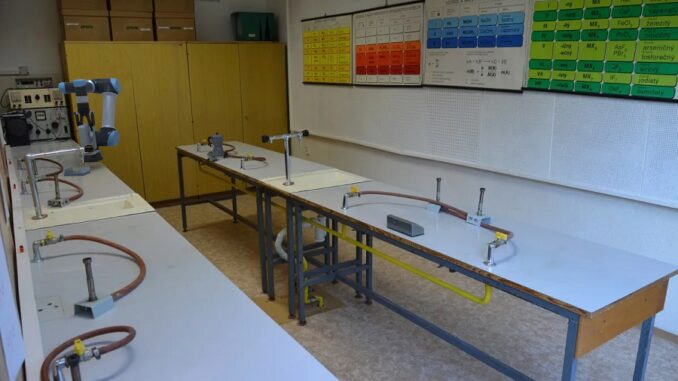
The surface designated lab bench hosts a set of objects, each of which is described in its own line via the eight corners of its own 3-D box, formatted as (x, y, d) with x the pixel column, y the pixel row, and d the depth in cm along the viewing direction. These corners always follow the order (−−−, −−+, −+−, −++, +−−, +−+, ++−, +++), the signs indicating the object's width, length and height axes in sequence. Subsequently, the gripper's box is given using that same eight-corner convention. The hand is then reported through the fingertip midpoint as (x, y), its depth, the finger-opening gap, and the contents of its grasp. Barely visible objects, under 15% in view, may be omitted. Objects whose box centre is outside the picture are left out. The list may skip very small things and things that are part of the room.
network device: (88, 150, 359) (84, 123, 354) (101, 150, 361) (97, 122, 356) (78, 156, 335) (74, 126, 330) (92, 155, 336) (88, 125, 332)
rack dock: (71, 172, 335) (70, 166, 334) (90, 172, 335) (89, 165, 334) (64, 176, 325) (63, 169, 324) (83, 175, 326) (82, 168, 324)
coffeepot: (222, 153, 398) (220, 131, 394) (229, 154, 392) (227, 131, 387) (205, 156, 387) (203, 133, 383) (212, 157, 381) (210, 134, 376)
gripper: (67, 103, 336) (72, 137, 342) (92, 102, 336) (97, 136, 342) (72, 102, 343) (77, 135, 349) (97, 101, 343) (102, 135, 349)
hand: (87, 136), depth 345 cm, fingers closed on network device, 4 cm apart
